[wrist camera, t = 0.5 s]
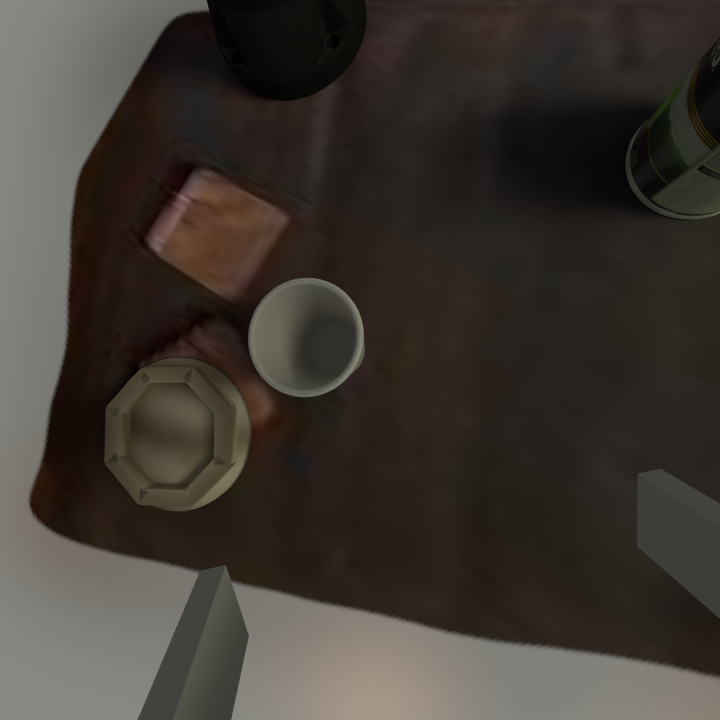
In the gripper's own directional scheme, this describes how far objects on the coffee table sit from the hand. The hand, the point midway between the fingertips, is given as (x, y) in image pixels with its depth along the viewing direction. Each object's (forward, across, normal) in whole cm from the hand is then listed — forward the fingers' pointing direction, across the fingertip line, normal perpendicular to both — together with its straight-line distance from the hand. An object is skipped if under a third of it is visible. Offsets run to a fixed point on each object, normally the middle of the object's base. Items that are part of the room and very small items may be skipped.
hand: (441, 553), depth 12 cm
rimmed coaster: (+27, -19, -4) cm, 33 cm away
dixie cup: (+25, -2, +2) cm, 26 cm away
